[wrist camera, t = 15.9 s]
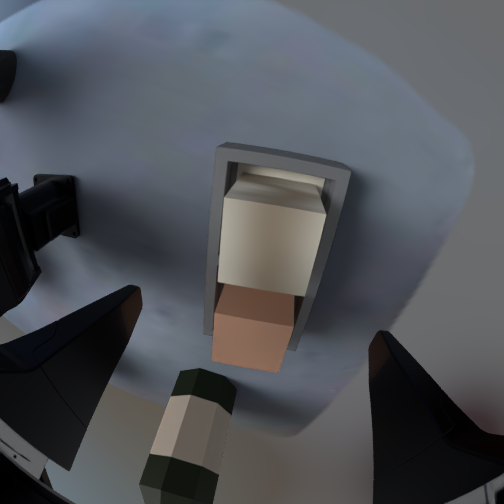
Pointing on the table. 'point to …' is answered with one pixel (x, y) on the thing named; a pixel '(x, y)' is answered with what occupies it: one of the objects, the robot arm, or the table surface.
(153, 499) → the wine bottle
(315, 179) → the pocket frame
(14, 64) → the travel mug
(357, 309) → the table surface
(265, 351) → the terracotta block
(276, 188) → the ivory block
